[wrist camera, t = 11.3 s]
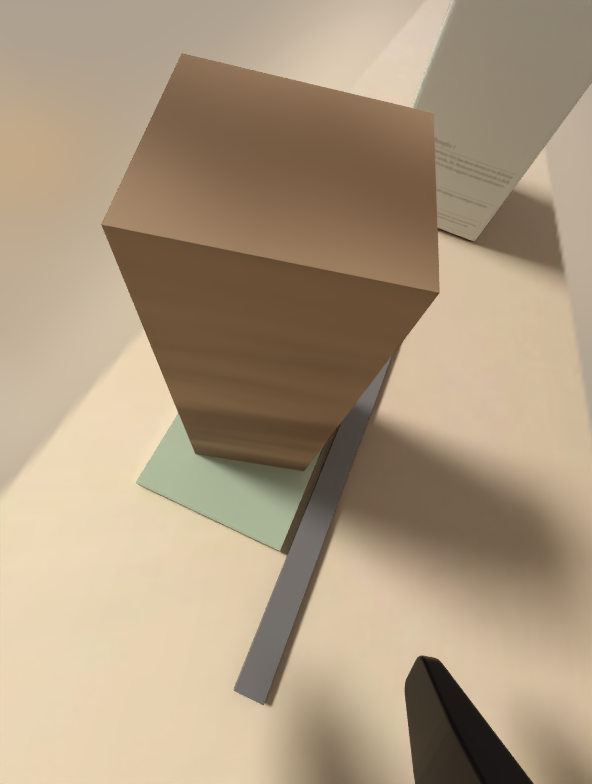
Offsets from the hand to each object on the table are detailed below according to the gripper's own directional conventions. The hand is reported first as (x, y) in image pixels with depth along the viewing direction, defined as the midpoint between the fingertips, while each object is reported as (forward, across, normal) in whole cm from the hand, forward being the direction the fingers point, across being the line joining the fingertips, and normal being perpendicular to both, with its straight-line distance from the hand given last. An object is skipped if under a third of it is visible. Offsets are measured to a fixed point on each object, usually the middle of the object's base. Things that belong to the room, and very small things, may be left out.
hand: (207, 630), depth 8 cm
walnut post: (+11, 0, 0) cm, 11 cm away
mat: (+11, 0, 0) cm, 11 cm away
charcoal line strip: (+11, -5, 0) cm, 12 cm away
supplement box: (+25, -8, -14) cm, 30 cm away
